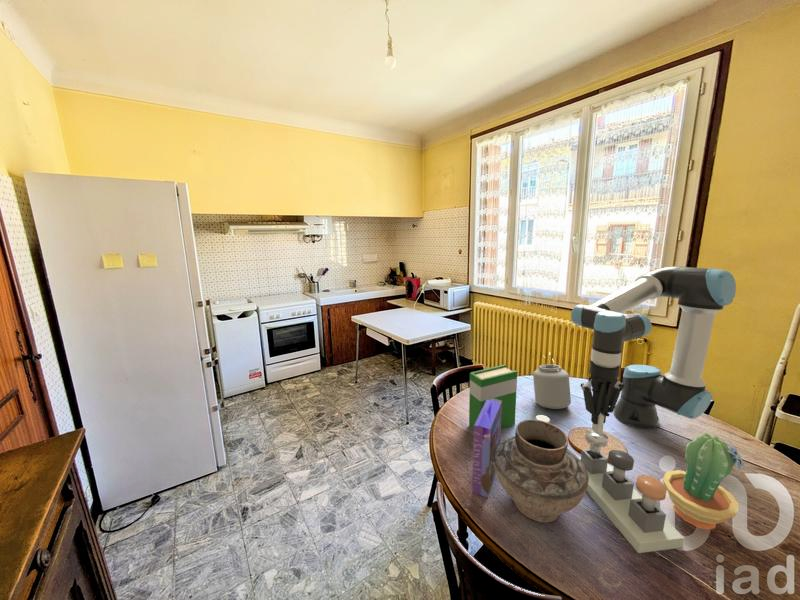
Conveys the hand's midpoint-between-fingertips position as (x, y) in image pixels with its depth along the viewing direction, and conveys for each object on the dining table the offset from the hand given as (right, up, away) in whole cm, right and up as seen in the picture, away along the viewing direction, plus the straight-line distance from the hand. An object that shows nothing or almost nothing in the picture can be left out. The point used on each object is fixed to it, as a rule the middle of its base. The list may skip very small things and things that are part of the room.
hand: (597, 431), depth 100 cm
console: (+2, -18, -6) cm, 19 cm away
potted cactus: (+20, -19, -12) cm, 30 cm away
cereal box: (-34, -17, +5) cm, 38 cm away
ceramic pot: (-22, -19, -6) cm, 30 cm away
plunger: (0, -8, +2) cm, 8 cm away
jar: (+7, -7, +46) cm, 47 cm away
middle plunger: (+1, -10, -8) cm, 13 cm away
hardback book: (-24, -11, +32) cm, 41 cm away
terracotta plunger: (+2, -12, -18) cm, 22 cm away
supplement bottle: (-11, -14, +16) cm, 24 cm away
